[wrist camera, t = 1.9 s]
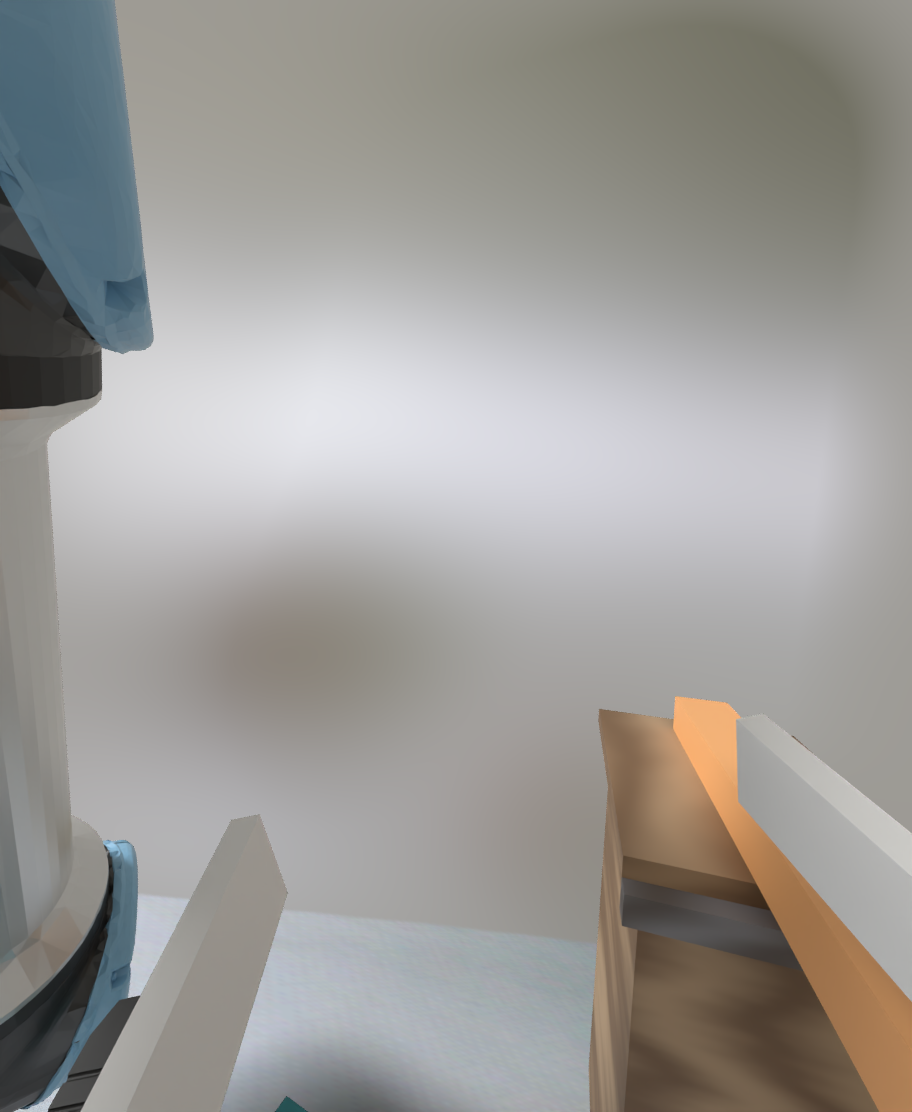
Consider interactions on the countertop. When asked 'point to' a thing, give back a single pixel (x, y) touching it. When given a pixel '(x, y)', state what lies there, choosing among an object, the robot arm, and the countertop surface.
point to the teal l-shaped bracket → (289, 1106)
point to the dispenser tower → (696, 957)
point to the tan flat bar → (808, 920)
